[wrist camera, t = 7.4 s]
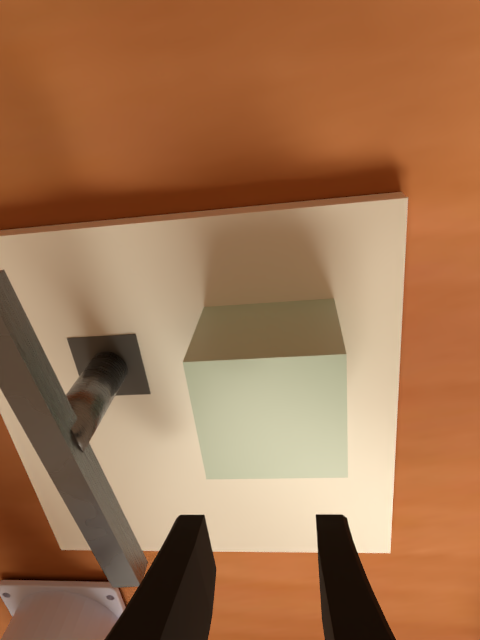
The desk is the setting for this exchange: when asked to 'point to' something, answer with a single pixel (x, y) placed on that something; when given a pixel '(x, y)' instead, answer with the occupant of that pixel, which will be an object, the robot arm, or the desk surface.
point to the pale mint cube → (270, 390)
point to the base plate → (173, 341)
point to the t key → (69, 435)
